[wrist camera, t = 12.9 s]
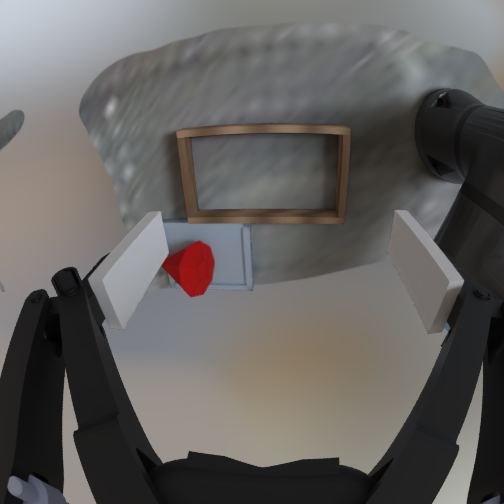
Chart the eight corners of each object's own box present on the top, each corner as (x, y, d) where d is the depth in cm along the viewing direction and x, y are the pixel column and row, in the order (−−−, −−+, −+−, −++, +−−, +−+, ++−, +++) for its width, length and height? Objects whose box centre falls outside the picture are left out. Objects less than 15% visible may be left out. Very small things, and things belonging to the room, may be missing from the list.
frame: (345, 125, 35) (350, 127, 33) (340, 215, 43) (344, 224, 40) (183, 128, 38) (176, 131, 35) (193, 215, 45) (188, 223, 42)
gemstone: (164, 295, 50) (208, 306, 45) (132, 275, 43) (176, 285, 38) (182, 252, 53) (225, 257, 49) (154, 228, 46) (199, 230, 42)
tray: (249, 217, 44) (249, 222, 43) (253, 285, 51) (252, 290, 50) (159, 219, 46) (156, 223, 44) (173, 282, 52) (171, 287, 51)
